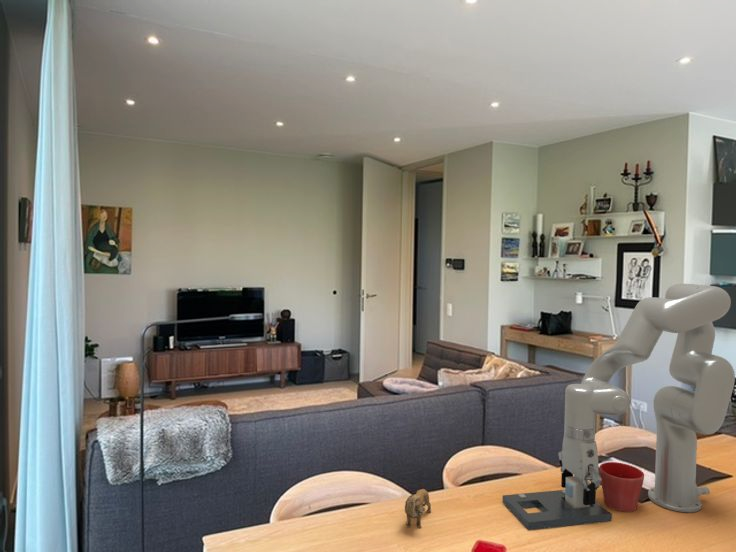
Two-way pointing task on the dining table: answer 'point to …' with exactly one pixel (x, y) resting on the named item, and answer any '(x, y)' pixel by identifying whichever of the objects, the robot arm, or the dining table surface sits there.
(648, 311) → the robot arm
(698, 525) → the dining table surface
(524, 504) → the panel
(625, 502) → the flower pot
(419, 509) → the brown animal figurine
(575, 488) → the plug
